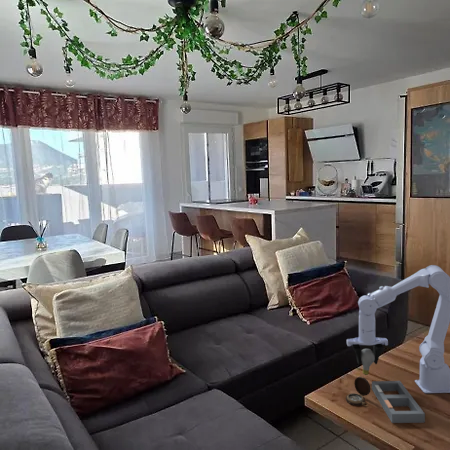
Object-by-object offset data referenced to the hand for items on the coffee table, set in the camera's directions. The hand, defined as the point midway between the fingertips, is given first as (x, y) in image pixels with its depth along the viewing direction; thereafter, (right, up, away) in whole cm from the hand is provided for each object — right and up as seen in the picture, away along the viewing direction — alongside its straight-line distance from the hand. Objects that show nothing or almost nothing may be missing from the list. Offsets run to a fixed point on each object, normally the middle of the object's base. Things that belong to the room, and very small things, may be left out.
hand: (367, 363), depth 143 cm
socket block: (+5, -9, -14) cm, 17 cm away
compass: (-7, -9, -11) cm, 16 cm away
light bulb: (0, -5, +1) cm, 5 cm away
